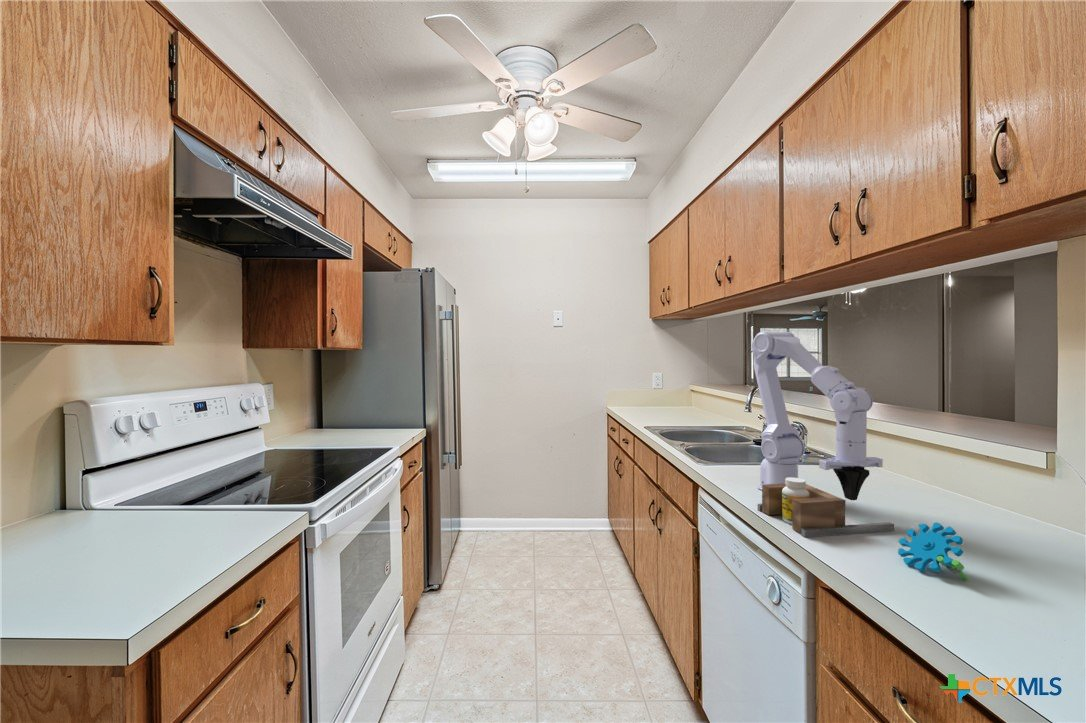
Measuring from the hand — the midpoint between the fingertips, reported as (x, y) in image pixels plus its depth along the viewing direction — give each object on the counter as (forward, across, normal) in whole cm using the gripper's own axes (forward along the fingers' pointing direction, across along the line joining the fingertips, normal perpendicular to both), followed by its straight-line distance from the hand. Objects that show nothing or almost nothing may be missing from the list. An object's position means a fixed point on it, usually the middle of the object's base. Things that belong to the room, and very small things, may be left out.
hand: (850, 498), depth 102 cm
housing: (+4, -13, 0) cm, 13 cm away
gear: (+5, -5, -23) cm, 24 cm away
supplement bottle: (+5, -14, 0) cm, 15 cm away
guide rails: (+4, -7, 0) cm, 9 cm away
